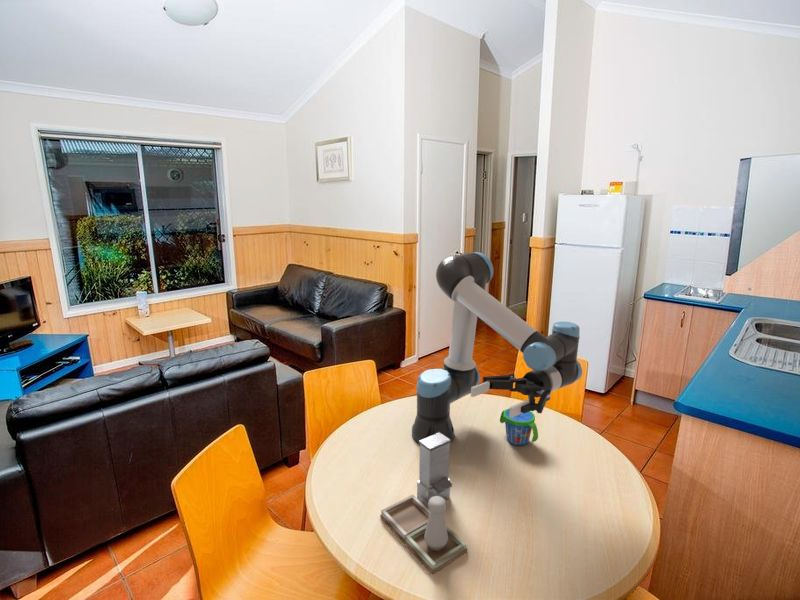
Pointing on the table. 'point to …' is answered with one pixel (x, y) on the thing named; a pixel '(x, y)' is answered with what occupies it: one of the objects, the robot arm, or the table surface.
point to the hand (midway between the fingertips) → (490, 401)
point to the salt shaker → (436, 524)
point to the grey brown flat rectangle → (421, 533)
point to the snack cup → (519, 427)
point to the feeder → (434, 468)
